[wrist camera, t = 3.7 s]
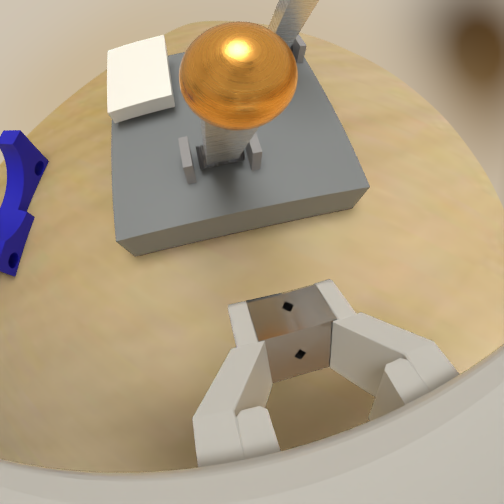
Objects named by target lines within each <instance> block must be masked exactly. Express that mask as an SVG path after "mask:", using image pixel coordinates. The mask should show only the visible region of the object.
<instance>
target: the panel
mask: <svg viewBox="0 0 504 504" xmlns="http://www.w3.org/2000/svg"><path fill="white" fill-rule="evenodd" d="M292 45H293V55H294V58H295V60H296V64H297V70H298V80H297V86H296V90H295V93H294V96H293V98H292V100H291V101H290V103H289V105H288V106H287V107H286V109H285V110H284V111H283V112H282V113H281V114H280V115H279V116H278V117H276V118H275V119H273V120H272V121H271V122H269V123H267V124H265V125H263V126H260V127H259V128H258V129H257V131H256V132H255V134H254V135H253V137H252V138H251V140H250V141H249V143H248V144H247V146H246V147H245V149H244V153H245V161H240V162H235V163H229V164H225V165H220V166H215V167H210V168H206V169H201V170H200V166H199V162H198V157H197V152H196V146H200V145H203V139H202V130H201V120H200V118H199V117H198V116H197V115H196V114H195V113H194V112H193V111H192V110H191V109H190V108H189V107H188V105H187V103H186V102H185V100H184V98H183V95H182V93H181V89H180V85H179V69H180V65H181V61H182V58H183V56H184V54H185V52H183V53H179V54H174V55H170V56H168V61H169V68H170V75H171V82H172V89H173V96H174V102H175V107H172V108H168V109H164V110H160V111H156V112H152V113H148V114H145V115H141V116H138V117H134V118H131V119H127V120H124V121H121V122H118V123H114V121H113V120H112V141H111V157H112V192H113V210H114V223H115V235H116V242H117V243H119V244H120V245H121V246H122V247H124V248H125V249H126V250H127V251H129V252H130V253H131V254H133V255H134V256H139V255H143V254H147V253H152V252H156V251H160V250H164V249H168V248H173V247H177V246H181V245H185V244H190V243H194V242H198V241H203V240H207V239H211V238H216V237H220V236H225V235H229V234H233V233H238V232H242V231H247V230H251V229H256V228H261V227H265V226H270V225H274V224H279V223H284V222H288V221H293V220H298V219H302V218H307V217H312V216H317V215H322V214H326V213H331V212H336V211H341V210H346V209H351V208H353V206H354V205H355V204H356V203H357V202H358V201H359V199H360V198H361V197H362V196H363V195H364V193H365V192H366V191H367V190H368V189H369V187H370V186H369V184H368V181H367V179H366V177H365V174H364V172H363V170H362V167H361V165H360V163H359V160H358V158H357V156H356V154H355V152H354V149H353V147H352V145H351V143H350V141H349V139H348V137H347V135H346V133H345V131H344V129H343V127H342V125H341V123H340V121H339V119H338V117H337V115H336V113H335V111H334V109H333V107H332V105H331V103H330V101H329V99H328V98H327V96H326V94H325V92H324V90H323V89H322V87H321V85H320V83H319V81H318V80H317V78H316V76H315V75H314V73H313V71H312V69H311V68H310V66H309V64H308V63H307V61H306V59H305V58H304V55H305V50H306V44H305V43H304V41H303V40H302V38H301V37H300V36H299V34H298V36H297V37H296V39H295V41H294V42H293V44H292Z"/></svg>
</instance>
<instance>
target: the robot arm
mask: <svg viewBox="0 0 504 504" xmlns="http://www.w3.org/2000/svg"><path fill="white" fill-rule="evenodd" d="M228 312H229V316H230V321H231V325H232V330H233V334H234V339H235V343H236V348H232V349H231V350H230V351H229V353H228V355H227V357H226V359H225V361H224V362H223V364H222V366H221V368H220V370H219V372H218V373H217V375H216V377H215V379H214V381H213V382H212V384H211V386H210V388H209V389H208V391H207V393H206V395H205V397H204V398H203V400H202V402H201V404H200V405H199V407H198V409H197V411H196V413H195V414H194V416H193V418H192V419H193V429H194V438H195V447H196V455H197V463H198V467H197V468H189V469H179V470H168V471H152V472H91V471H77V470H66V469H57V468H49V467H42V466H35V465H30V464H24V463H19V462H14V461H9V460H5V459H1V458H0V504H504V344H503V345H502V346H500V347H499V348H498V349H496V350H495V351H494V352H492V353H491V354H489V355H488V356H487V357H485V358H484V359H482V360H481V361H479V362H478V363H476V364H475V365H473V366H472V367H470V368H469V369H467V370H466V371H464V372H463V373H461V374H459V373H458V372H457V370H456V369H455V368H454V366H453V365H452V364H451V363H450V361H449V360H448V359H447V358H446V356H445V355H444V354H443V352H442V351H441V350H440V349H439V347H438V346H437V345H436V344H435V343H434V341H431V340H429V339H426V338H424V337H421V336H419V335H416V334H414V333H411V332H409V331H406V330H404V329H401V328H399V327H396V326H394V325H391V324H389V323H386V322H384V321H381V320H379V319H377V318H374V317H372V316H369V315H367V314H364V313H362V312H360V313H357V314H356V312H355V311H354V309H353V308H352V307H351V305H350V304H349V303H348V301H347V300H346V298H345V297H344V296H343V294H342V293H341V292H340V290H339V289H338V287H337V286H336V285H335V283H334V282H333V281H332V280H330V279H328V280H325V281H322V282H318V283H315V284H313V285H309V286H306V287H302V288H298V289H294V290H291V291H287V292H283V293H278V294H274V295H270V296H265V297H261V298H256V299H252V300H247V301H246V302H245V301H244V302H239V303H234V304H230V305H228ZM329 366H330V368H331V369H333V370H334V371H336V372H337V373H339V374H340V375H342V376H343V377H345V378H346V379H348V380H349V381H351V382H352V383H354V384H355V385H357V386H359V387H360V388H362V389H363V390H365V391H366V392H368V393H369V394H371V395H373V396H374V397H375V400H374V403H373V405H372V408H371V411H370V414H369V416H368V418H369V420H370V421H369V422H366V423H364V424H361V425H359V426H356V427H354V428H351V429H349V430H346V431H343V432H341V433H338V434H335V435H332V436H329V437H326V438H324V439H321V440H317V441H314V442H311V443H308V444H305V445H301V446H298V447H295V448H291V449H287V450H284V451H281V450H280V447H279V444H278V441H277V438H276V435H275V431H274V428H273V425H272V422H271V419H270V415H269V412H268V409H266V408H265V407H266V404H267V401H268V398H269V395H270V392H271V389H272V385H273V384H272V383H275V382H278V381H282V380H285V379H288V378H292V377H295V376H298V375H301V374H305V373H308V372H312V371H315V370H319V369H322V368H326V367H329Z"/></svg>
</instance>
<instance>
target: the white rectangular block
mask: <svg viewBox="0 0 504 504" xmlns="http://www.w3.org/2000/svg"><path fill="white" fill-rule="evenodd" d="M107 62H108V64H107V105H108V114H109V116H110V117H111V118H112V120H113V121H114V123H118V122H121V121H124V120H127V119H131V118H134V117H138V116H141V115H145V114H148V113H152V112H156V111H160V110H164V109H168V108H172V107H175V102H174V96H173V89H172V82H171V75H170V68H169V61H168V54H167V47H166V42H165V38H164V35H161V36H157V37H153V38H149V39H145V40H141V41H138V42H135V43H131V44H127V45H124V46H121V47H118V48H115V49H112V50H109V51H108V61H107Z"/></svg>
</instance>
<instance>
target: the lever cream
mask: <svg viewBox="0 0 504 504" xmlns="http://www.w3.org/2000/svg"><path fill="white" fill-rule="evenodd" d="M318 1H319V0H279V2H278V4H277V7H276V9H275V12H274V14H273V17H272V19H271V22H270V25H269V27H268V29H270V30H271V31H273V32H274V33H276V34H277V35H278V36H280V37H281V38H282V39H283V40H284V41H285V42H286V44H287V45H288V46H289V48H290V50H291V51H292V53H293V45H292V44H293V42H294V41H295V39H296V37H297V36H298V34H299V32H300V30H301V29H302V27H303V25H304V24H305V22H306V21H307V19H308V17H309V16H310V14H311V12H312V11H313V9H314V7H315V6H316V4H317V3H318Z"/></svg>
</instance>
